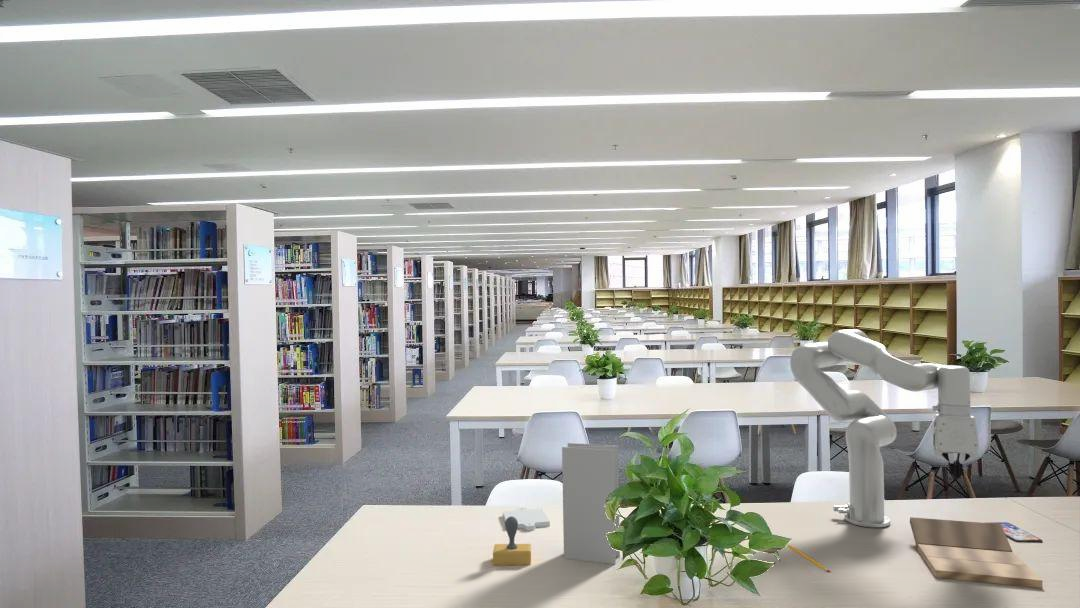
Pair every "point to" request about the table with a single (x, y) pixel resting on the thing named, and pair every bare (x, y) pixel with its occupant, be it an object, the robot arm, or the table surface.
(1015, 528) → the smartphone
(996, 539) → the walnut plank
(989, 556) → the laid floor
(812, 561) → the pencil
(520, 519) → the mounting plate
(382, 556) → the table surface
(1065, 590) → the table surface
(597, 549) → the brochure
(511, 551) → the rubber stamp
